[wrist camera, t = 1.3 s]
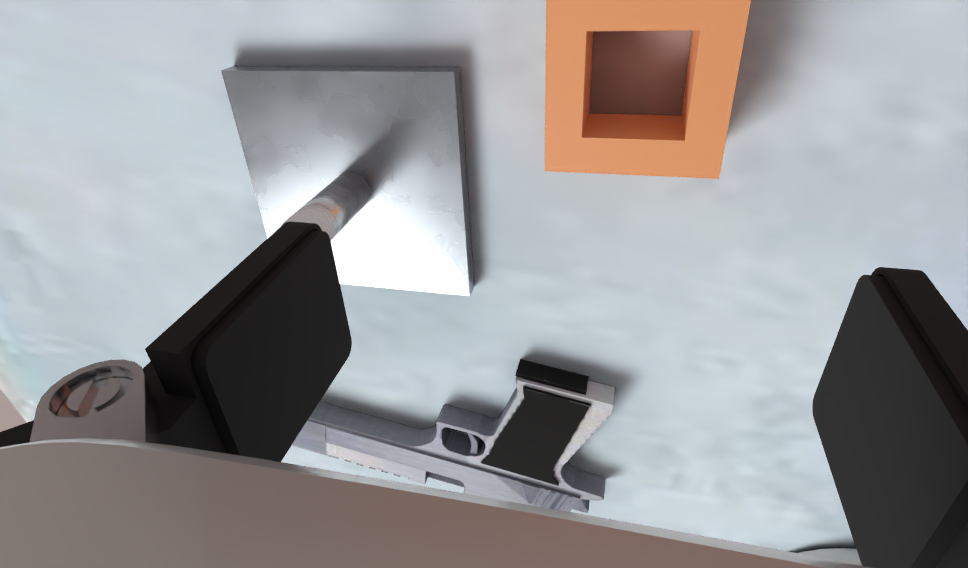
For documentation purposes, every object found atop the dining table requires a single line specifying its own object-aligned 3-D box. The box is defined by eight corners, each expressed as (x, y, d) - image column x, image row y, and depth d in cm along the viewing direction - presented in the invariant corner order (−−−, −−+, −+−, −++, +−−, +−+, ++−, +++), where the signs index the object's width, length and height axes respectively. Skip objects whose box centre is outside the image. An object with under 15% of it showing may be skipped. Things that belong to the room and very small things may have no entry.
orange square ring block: (741, -28, 22) (754, -19, 19) (711, 149, 26) (718, 178, 23) (559, -22, 24) (546, -13, 21) (555, 144, 27) (544, 171, 25)
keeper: (460, 67, 27) (412, 105, 21) (474, 286, 33) (440, 358, 28) (233, 66, 29) (140, 99, 24) (286, 269, 36) (222, 331, 30)
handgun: (274, 317, 35) (287, 447, 42) (638, 411, 32) (591, 535, 39) (294, 296, 37) (304, 423, 44) (639, 383, 34) (594, 505, 41)
